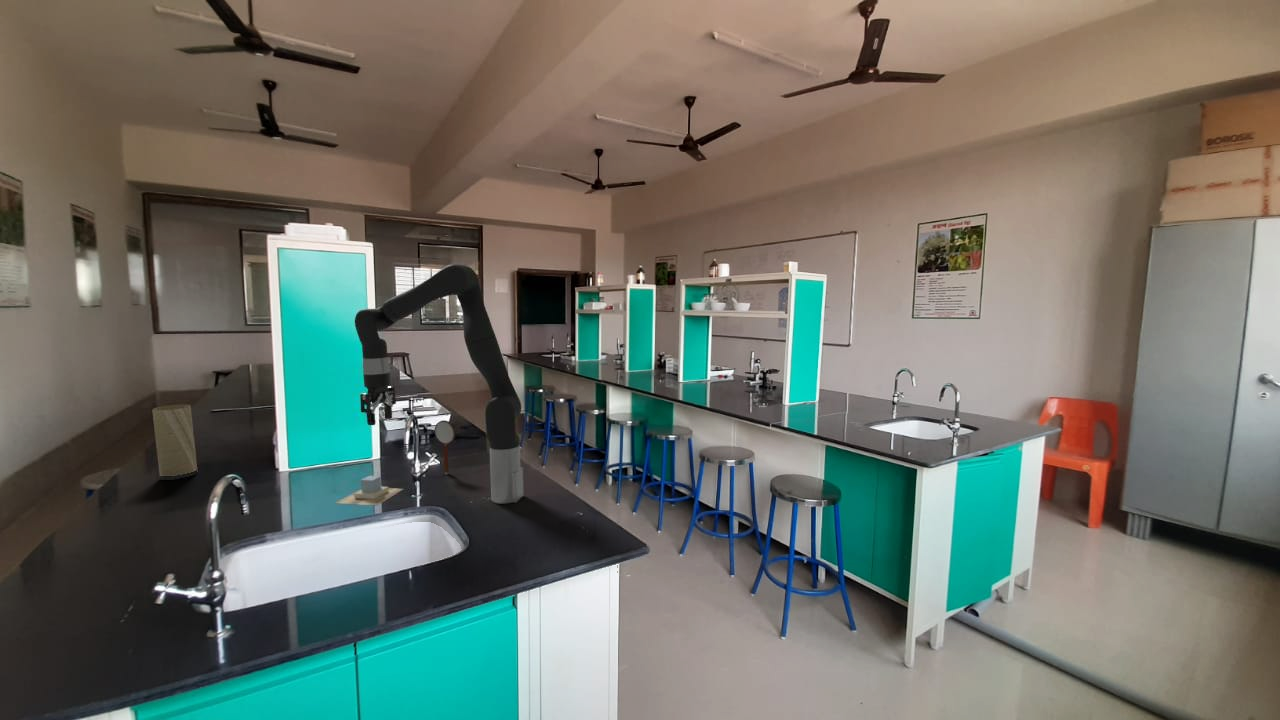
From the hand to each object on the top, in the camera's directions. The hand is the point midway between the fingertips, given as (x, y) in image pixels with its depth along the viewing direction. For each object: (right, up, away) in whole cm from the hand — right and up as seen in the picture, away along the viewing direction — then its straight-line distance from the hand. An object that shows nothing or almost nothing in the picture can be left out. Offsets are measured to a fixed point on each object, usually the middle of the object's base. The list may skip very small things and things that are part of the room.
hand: (380, 421), depth 166 cm
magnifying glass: (+14, -22, +20) cm, 33 cm away
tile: (-2, -22, +3) cm, 23 cm away
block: (-3, -22, 0) cm, 22 cm away
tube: (-81, -22, +19) cm, 86 cm away
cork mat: (-3, -24, -1) cm, 24 cm away
